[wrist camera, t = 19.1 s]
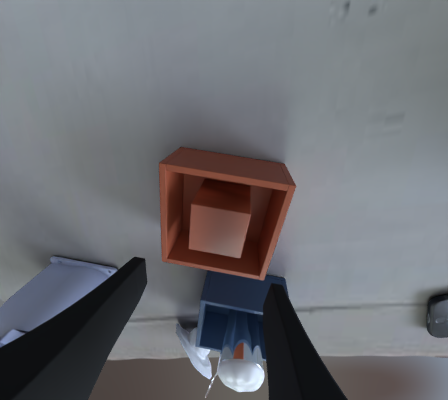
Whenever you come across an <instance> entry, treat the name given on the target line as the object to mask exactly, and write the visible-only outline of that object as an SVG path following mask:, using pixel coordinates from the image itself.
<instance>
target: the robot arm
mask: <svg viewBox="0 0 448 400" xmlns="http://www.w3.org/2000/svg"><path fill="white" fill-rule="evenodd" d="M50 261H51V264H50V265H48V266H47V267H46V268H45V269H44V270H42V271H41V272H40V273H39V274H38V275H37V276H35V277H34V278H33V279H32V280H31V281H29V282H28V283H27V284H26V285H25V286H23V287H22V288H21V289H20V290H19V291H17V292H16V293H15V294H14V295H13V296H11V297H10V298H9V299H8V300H7V301H6V302H5V303H4V304H3V305H2V307H1V308H0V400H88V398H89V396H90V394H91V392H92V389H93V387H94V385H95V383H96V381H97V379H98V376H99V374H100V372H101V370H102V368H103V366H104V364H105V362H106V360H107V358H108V356H109V353H110V352H111V350H112V348H113V346H114V344H115V342H116V341H117V339H118V337H119V335H120V334H121V332H122V330H123V329H124V327H125V325H126V323H127V322H128V320H129V318H130V316H131V315H132V313H133V311H134V309H135V308H136V306H137V304H138V302H139V300H140V298H141V296H142V294H143V292H144V289H145V287H146V284H147V275H146V263H145V259H144V258H138V257H134V258H132V259H131V260H130V261H129V262H127V263H126V264H125V265H124V266H123V267H121V268H120V269H119V270H117V269H116V268H113V267H108V266H103V265H98V264H93V263H87V262H82V261H77V260H72V259H67V258H62V257H56V256H52V257H51V258H50ZM263 333H264V343H265V353H266V363H267V372H268V386H269V400H348V399H347V398H346V396H345V395H344V394H343V392H342V391H341V389H340V388H339V386H338V385H337V383H336V382H335V380H334V379H333V377H332V376H331V374H330V372H329V371H328V370H327V368H326V366H325V365H324V363H323V361H322V360H321V358H320V356H319V355H318V353H317V351H316V350H315V348H314V346H313V344H312V343H311V341H310V339H309V337H308V335H307V334H306V332H305V330H304V328H303V326H302V324H301V322H300V320H299V318H298V316H297V314H296V312H295V310H294V308H293V306H292V304H291V302H290V300H289V297H288V295H287V293H286V291H285V288H284V286H283V285H281V284H276V283H271V285H270V288H269V290H268V293H267V296H266V298H265V301H264V304H263Z"/></svg>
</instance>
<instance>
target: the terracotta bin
mask: <svg viewBox="0 0 448 400" xmlns="http://www.w3.org/2000/svg"><path fill="white" fill-rule="evenodd" d="M205 179H210V180H216V181H222V182H228V183H234V184H239V185H245V186H250V187H251V217H250V221H249V225H248V229H247V233H246V237H245V242H244V246H243V250H242V254H241V258H235V257H230V256H224V255H219V254H213V253H208V252H203V251H197V250H192V249H189V231H190V214H191V203H192V202H193V200H194V198H195V196H196V194H197V192H198V191H199V189H200V187H201V185H202V183H203V181H204V180H205ZM159 180H160V213H161V246H162V261H163V262H168V263H174V264H179V265H184V266H189V267H195V268H200V269H205V270H211V271H216V272H221V273H226V274H232V275H237V276H242V277H248V278H253V279H259V280H264V278H265V275H266V273H267V270H268V267H269V264H270V261H271V258H272V255H273V252H274V249H275V246H276V243H277V241H278V238H279V235H280V232H281V229H282V226H283V223H284V220H285V217H286V214H287V211H288V209H289V206H290V203H291V200H292V197H293V194H294V191H295V188H296V185H295V183H294V181H293V179H292V177H291V175H290V173H289V171H288V169H287V167H286V166H285V164H282V163H276V162H270V161H264V160H258V159H252V158H246V157H239V156H233V155H227V154H221V153H215V152H209V151H203V150H197V149H191V148H185V147H180V148H179V149H177V150H176V151H175V152H173V153H172V154H171V155H169V156H168V157H166V158H165V159H164V160H162V161H161V162H160V163H159Z"/></svg>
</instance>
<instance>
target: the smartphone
mask: <svg viewBox="0 0 448 400" xmlns="http://www.w3.org/2000/svg"><path fill="white" fill-rule="evenodd" d="M427 331H428V332H429V334H430V335H432V336H434V337H437V338H445V337H448V295H443V296H437V297H435V298H433V299H431V300H430V301H429V303H428V319H427Z"/></svg>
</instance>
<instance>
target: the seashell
mask: <svg viewBox="0 0 448 400" xmlns="http://www.w3.org/2000/svg"><path fill="white" fill-rule="evenodd" d="M176 334H177V335H178V337H179V339H180V341H181V345H182V346H183V348H184V349H185V351H186V353H187V354H188V356H189V358H190V360H191V363H192V364H193V365H194V367H195V369H197V370H198V372H201V374H202V375H203V376H205V377H206V378H209V379H210V378H211V377H212V374H211V363H210V362H209V359H208V357H207V355H208V354H209V352H210V350H209V349H204V348H199V347H195V343H196V335H197V328H194V329H193V330H192V331H191V332H190V333H189V332H188V331H186V330H185V329H183V328H182V327H181V326H180V325H179V323H176Z"/></svg>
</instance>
